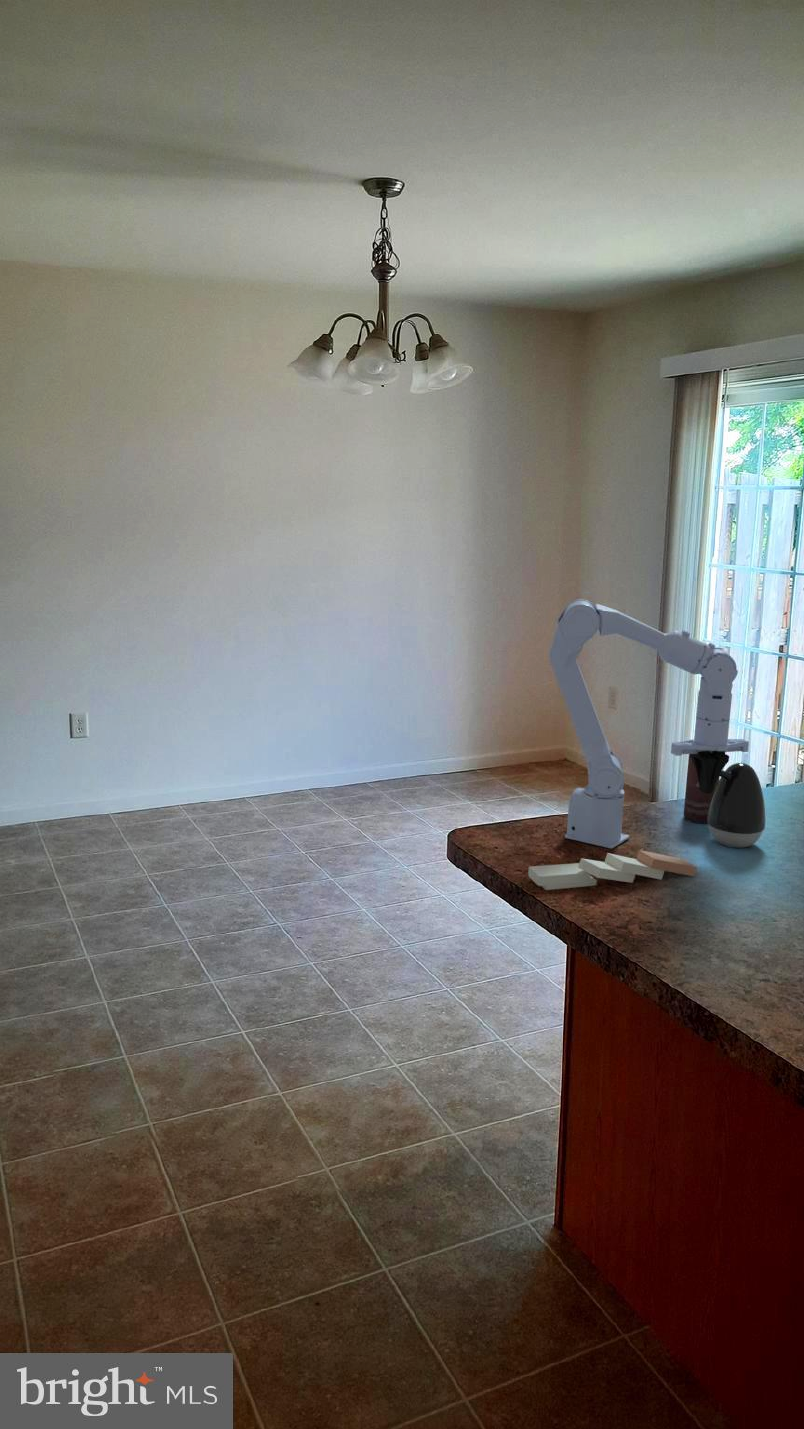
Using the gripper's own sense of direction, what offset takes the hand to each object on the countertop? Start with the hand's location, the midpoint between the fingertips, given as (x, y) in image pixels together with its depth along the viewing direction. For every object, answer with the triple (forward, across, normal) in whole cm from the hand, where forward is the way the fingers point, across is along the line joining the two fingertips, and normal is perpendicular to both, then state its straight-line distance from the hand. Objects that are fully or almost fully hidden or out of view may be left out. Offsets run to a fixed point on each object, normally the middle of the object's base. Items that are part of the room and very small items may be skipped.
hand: (705, 791), depth 188 cm
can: (+11, +9, +15) cm, 20 cm away
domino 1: (+9, -29, -11) cm, 32 cm away
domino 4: (+10, -16, -11) cm, 21 cm away
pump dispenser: (+11, +7, 0) cm, 13 cm away
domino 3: (+10, -22, -11) cm, 26 cm away
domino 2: (+10, -27, -10) cm, 31 cm away
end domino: (+10, -9, -11) cm, 17 cm away
